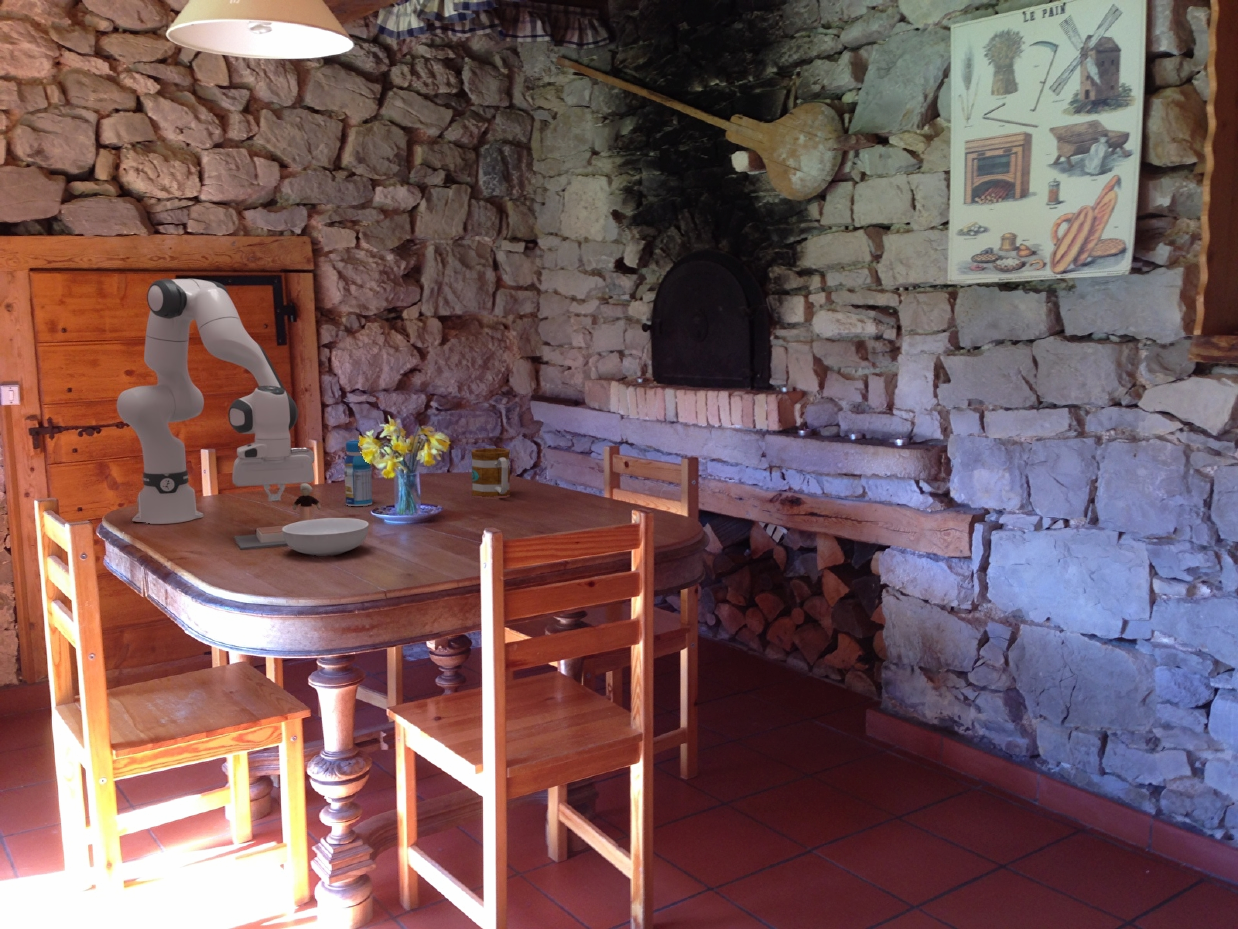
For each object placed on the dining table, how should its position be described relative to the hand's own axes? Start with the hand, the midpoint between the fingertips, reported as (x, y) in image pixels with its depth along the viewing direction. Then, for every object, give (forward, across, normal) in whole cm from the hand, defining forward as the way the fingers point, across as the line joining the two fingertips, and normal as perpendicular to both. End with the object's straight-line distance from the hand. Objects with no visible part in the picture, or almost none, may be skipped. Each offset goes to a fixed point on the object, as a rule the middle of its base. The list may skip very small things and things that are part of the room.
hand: (274, 501), depth 272 cm
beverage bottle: (+11, -31, -43) cm, 54 cm away
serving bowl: (+10, -9, +19) cm, 24 cm away
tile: (+9, +4, 0) cm, 10 cm away
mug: (+10, -74, -38) cm, 84 cm away
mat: (+10, +2, 0) cm, 11 cm away
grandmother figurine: (+11, -10, -13) cm, 20 cm away
